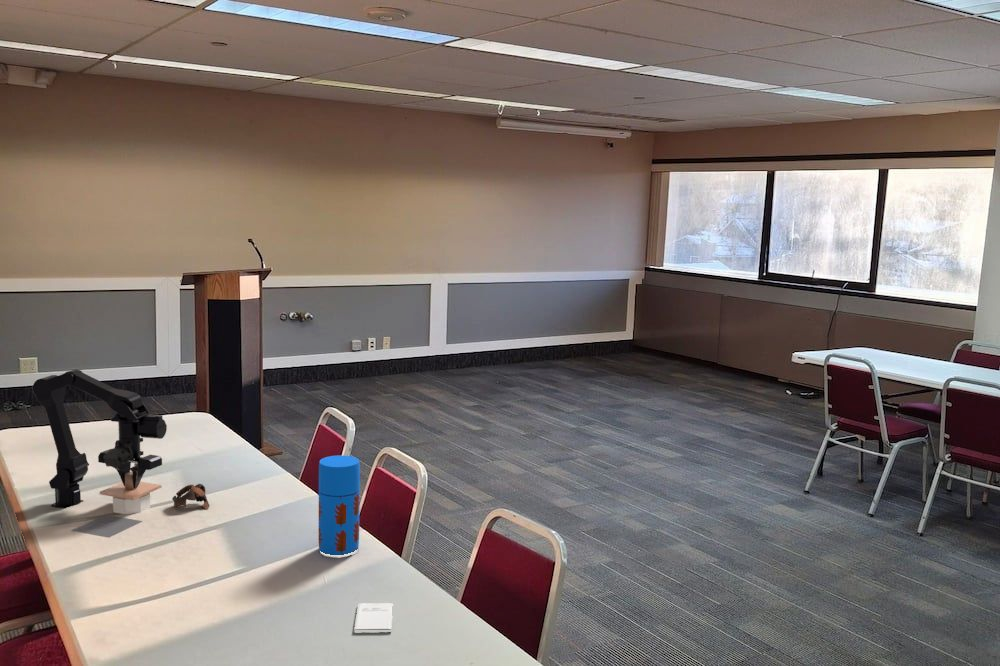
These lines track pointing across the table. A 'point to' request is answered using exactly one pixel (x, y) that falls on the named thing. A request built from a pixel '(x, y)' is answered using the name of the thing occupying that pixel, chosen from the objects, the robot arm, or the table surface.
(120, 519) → the mat
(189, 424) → the table surface
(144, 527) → the table surface
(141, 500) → the bowl
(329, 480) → the thermos
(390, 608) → the external hard drive
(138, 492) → the lid
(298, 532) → the table surface
